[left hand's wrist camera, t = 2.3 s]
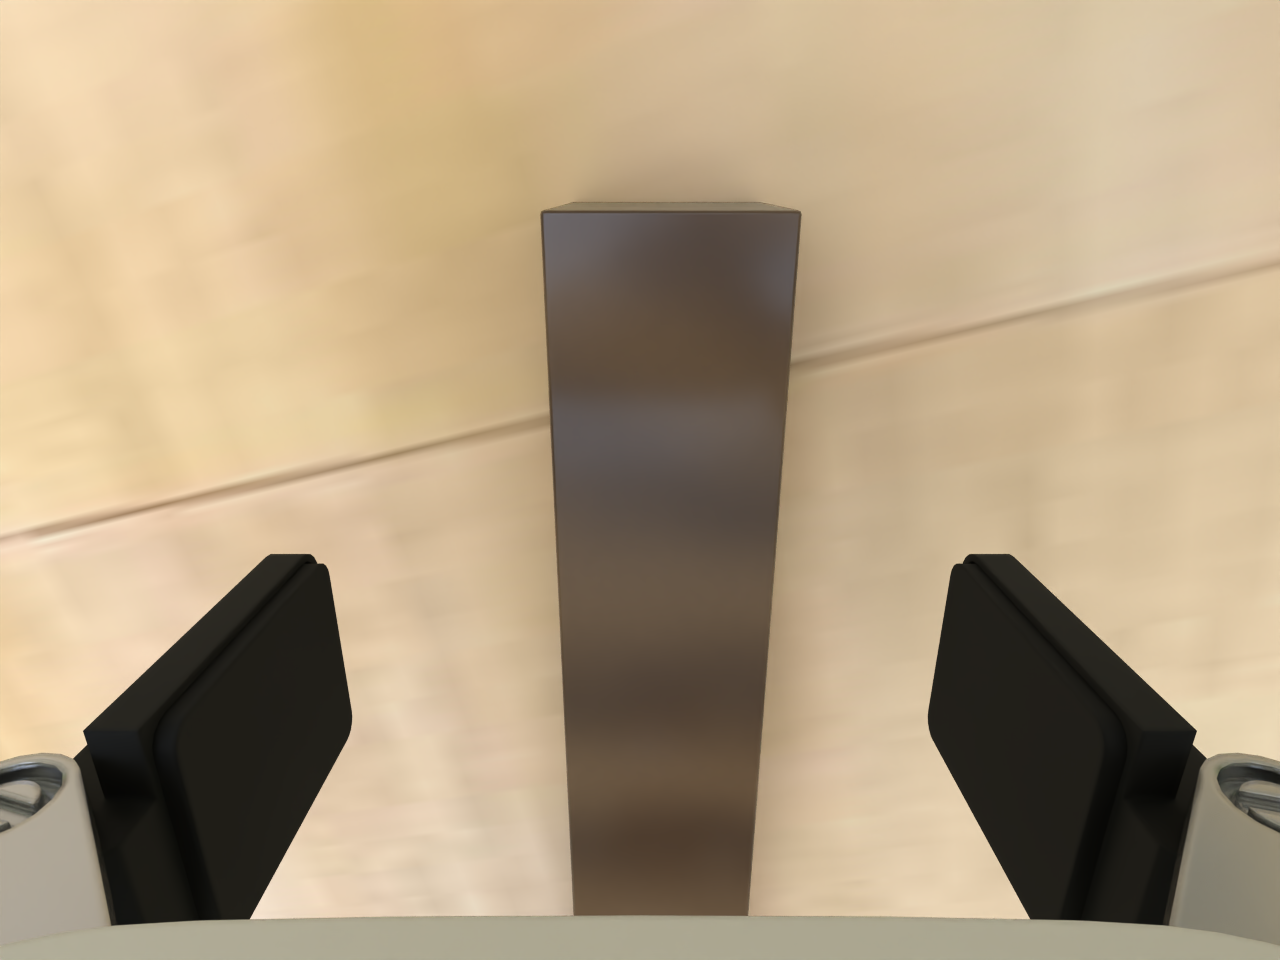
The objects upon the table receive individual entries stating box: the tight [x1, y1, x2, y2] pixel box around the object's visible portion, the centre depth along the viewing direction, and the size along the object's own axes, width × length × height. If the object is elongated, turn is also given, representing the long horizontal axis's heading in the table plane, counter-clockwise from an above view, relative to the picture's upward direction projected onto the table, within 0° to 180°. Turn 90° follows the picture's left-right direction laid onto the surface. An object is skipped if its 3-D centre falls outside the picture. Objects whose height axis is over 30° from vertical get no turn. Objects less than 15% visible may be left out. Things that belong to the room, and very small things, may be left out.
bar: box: [540, 202, 801, 916], centre depth 29 cm, size 51×6×7 cm, turn 0°
